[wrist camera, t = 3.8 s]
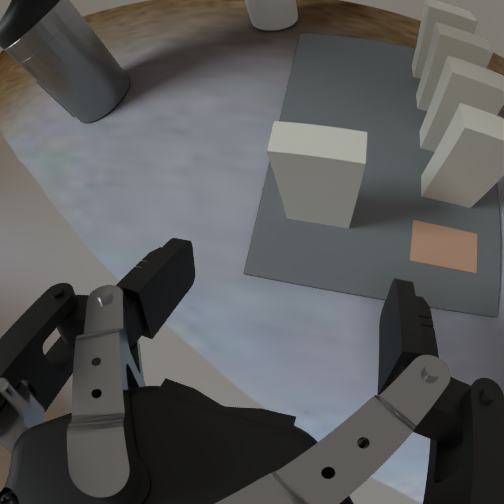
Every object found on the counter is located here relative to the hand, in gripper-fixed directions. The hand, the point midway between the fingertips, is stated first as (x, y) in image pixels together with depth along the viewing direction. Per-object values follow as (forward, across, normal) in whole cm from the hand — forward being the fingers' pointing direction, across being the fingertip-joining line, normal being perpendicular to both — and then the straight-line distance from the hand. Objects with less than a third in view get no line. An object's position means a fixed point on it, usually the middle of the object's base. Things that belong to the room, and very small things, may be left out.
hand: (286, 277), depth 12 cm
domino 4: (+20, -11, -3) cm, 23 cm away
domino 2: (+27, -11, -10) cm, 31 cm away
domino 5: (+16, -11, 0) cm, 20 cm away
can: (+34, +9, -16) cm, 39 cm away
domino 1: (+13, 0, +3) cm, 14 cm away
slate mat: (+20, -6, -3) cm, 21 cm away
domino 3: (+23, -11, -7) cm, 27 cm away
